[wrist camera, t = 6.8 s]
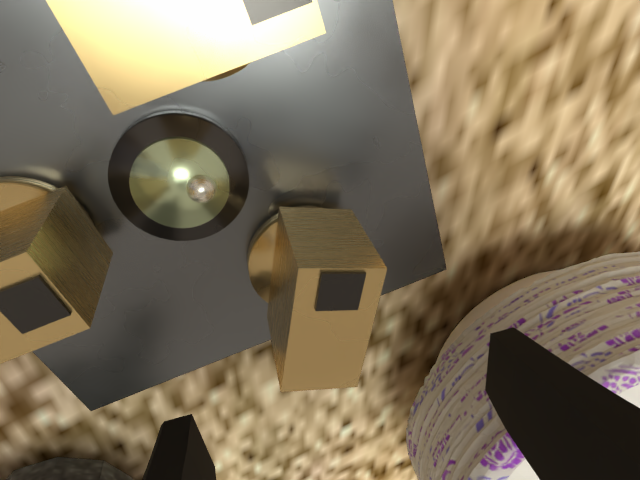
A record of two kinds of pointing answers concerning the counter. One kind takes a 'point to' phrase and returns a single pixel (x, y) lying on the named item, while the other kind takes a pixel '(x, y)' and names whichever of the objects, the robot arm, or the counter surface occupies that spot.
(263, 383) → the counter surface
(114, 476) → the mortar and pestle
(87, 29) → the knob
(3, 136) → the base plate
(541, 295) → the paper bowls
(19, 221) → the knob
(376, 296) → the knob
